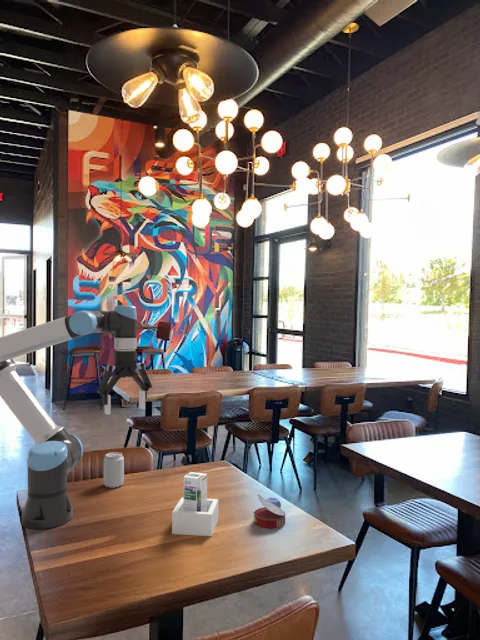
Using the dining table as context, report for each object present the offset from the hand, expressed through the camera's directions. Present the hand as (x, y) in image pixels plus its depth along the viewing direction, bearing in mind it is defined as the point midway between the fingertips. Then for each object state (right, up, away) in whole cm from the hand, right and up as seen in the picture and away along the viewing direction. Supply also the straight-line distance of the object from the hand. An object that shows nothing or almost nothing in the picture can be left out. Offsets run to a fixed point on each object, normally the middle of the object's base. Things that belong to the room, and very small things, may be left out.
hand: (125, 411), depth 169 cm
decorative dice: (+51, -33, -6) cm, 60 cm away
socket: (+26, -32, -18) cm, 45 cm away
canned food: (+49, -33, -14) cm, 61 cm away
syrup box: (+26, -31, -18) cm, 44 cm away
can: (-8, -32, +18) cm, 37 cm away
